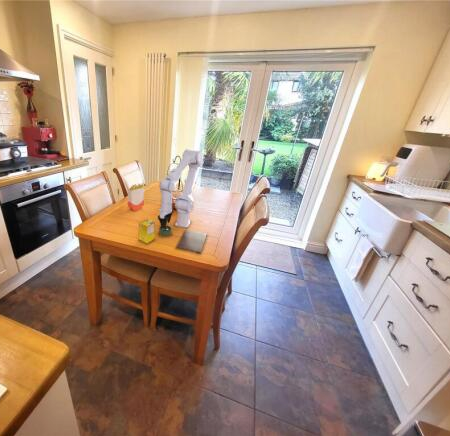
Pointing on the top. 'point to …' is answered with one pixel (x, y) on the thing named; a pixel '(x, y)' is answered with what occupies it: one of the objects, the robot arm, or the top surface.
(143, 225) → the supplement box
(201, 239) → the board
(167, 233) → the green bowl
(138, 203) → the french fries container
